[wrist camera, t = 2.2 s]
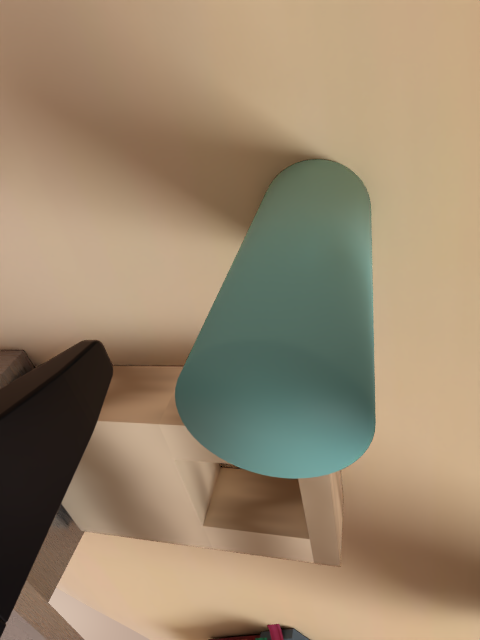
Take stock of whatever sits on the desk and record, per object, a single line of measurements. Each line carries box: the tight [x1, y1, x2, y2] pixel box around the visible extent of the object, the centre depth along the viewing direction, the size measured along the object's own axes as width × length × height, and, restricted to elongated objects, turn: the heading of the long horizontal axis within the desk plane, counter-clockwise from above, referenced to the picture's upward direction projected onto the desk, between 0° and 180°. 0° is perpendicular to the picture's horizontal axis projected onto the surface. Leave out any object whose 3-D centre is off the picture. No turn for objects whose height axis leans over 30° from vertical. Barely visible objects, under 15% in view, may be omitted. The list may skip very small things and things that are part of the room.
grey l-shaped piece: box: [0, 350, 85, 640], centre depth 22 cm, size 5×13×10 cm, turn 12°
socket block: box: [61, 366, 344, 567], centre depth 22 cm, size 15×10×4 cm, turn 102°
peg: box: [175, 159, 375, 479], centre depth 11 cm, size 4×4×9 cm
